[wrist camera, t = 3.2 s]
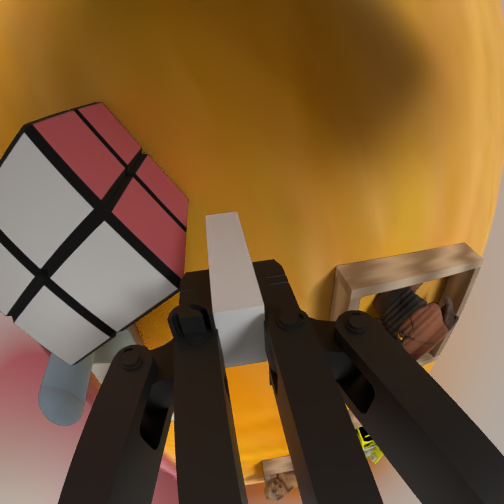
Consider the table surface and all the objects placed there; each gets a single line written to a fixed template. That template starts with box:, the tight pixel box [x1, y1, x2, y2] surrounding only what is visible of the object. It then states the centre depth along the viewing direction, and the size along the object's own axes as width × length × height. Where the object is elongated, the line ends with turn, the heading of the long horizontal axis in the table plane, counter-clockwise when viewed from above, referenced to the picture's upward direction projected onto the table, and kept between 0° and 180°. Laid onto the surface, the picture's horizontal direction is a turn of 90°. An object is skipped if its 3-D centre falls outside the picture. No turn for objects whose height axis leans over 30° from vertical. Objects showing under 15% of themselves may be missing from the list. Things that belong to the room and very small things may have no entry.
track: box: [91, 323, 174, 421], centre depth 29 cm, size 7×23×2 cm, turn 3°
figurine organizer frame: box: [262, 455, 295, 485], centre depth 56 cm, size 14×17×4 cm
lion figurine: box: [264, 472, 298, 502], centre depth 54 cm, size 15×5×9 cm, turn 85°
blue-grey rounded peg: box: [38, 351, 96, 426], centre depth 19 cm, size 4×4×11 cm
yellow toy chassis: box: [356, 426, 383, 464], centre depth 47 cm, size 16×6×8 cm, turn 8°
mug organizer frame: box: [329, 243, 483, 366], centre depth 31 cm, size 17×17×4 cm
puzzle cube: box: [0, 102, 189, 365], centre depth 16 cm, size 10×10×10 cm
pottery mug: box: [373, 283, 459, 361], centre depth 30 cm, size 12×10×8 cm
